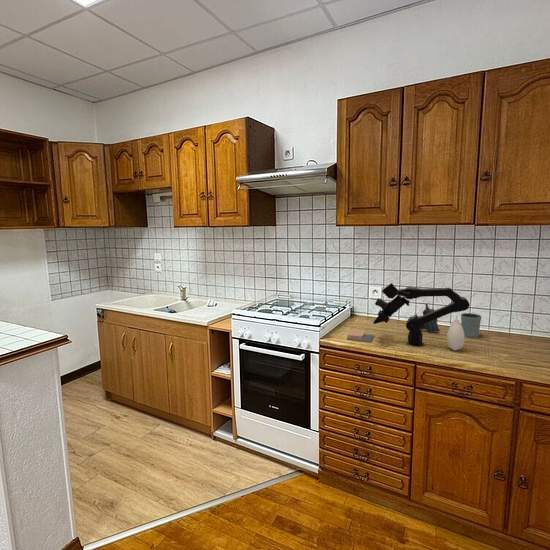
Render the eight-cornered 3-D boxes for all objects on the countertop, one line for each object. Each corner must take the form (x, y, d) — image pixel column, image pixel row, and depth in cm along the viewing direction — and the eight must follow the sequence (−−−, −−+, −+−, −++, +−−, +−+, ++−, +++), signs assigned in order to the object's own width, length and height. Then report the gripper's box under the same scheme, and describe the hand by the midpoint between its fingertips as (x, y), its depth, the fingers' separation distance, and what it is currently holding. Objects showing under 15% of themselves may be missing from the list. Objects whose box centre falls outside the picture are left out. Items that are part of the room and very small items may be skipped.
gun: (408, 305, 213) (433, 302, 204) (414, 332, 212) (440, 330, 203) (406, 306, 211) (432, 303, 202) (413, 333, 210) (439, 331, 201)
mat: (374, 336, 199) (374, 335, 199) (371, 342, 188) (371, 341, 188) (351, 333, 204) (351, 332, 204) (347, 339, 193) (347, 338, 193)
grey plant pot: (478, 334, 200) (479, 313, 199) (481, 339, 191) (483, 318, 190) (458, 332, 204) (459, 312, 203) (460, 337, 195) (462, 316, 193)
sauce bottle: (462, 353, 170) (464, 317, 168) (445, 350, 175) (446, 315, 172) (464, 349, 177) (466, 314, 174) (447, 346, 181) (449, 312, 179)
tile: (365, 331, 200) (351, 329, 203) (362, 336, 191) (347, 334, 194) (365, 334, 200) (351, 333, 203) (362, 339, 191) (347, 338, 194)
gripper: (386, 290, 196) (366, 308, 202) (382, 297, 180) (360, 316, 185) (400, 305, 194) (379, 323, 200) (398, 313, 177) (375, 332, 183)
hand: (373, 323), depth 192 cm, fingers closed
